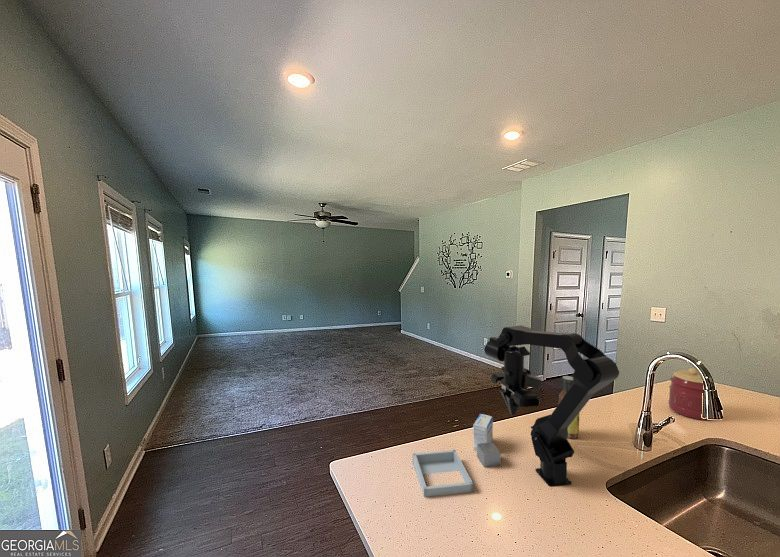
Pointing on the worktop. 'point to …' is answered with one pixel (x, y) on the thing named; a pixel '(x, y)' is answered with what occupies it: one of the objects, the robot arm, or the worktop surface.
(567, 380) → the sauce bottle
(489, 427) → the medicine box
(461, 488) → the tray
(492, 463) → the block
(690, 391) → the canister
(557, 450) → the robot arm
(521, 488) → the worktop surface
